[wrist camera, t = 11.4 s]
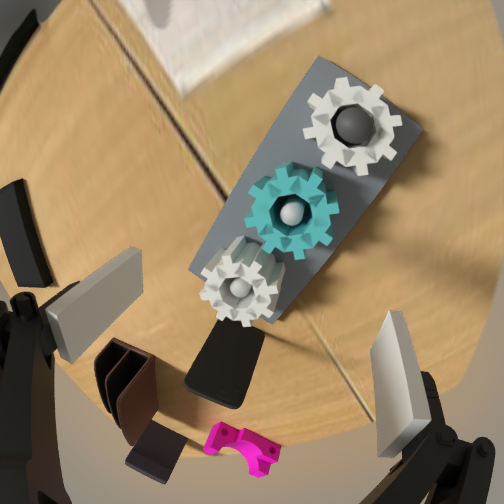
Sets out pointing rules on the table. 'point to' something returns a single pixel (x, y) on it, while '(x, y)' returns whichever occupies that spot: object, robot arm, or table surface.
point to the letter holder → (127, 386)
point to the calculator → (156, 452)
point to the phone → (225, 363)
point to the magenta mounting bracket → (244, 447)
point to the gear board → (307, 159)
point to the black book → (21, 238)
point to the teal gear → (309, 227)
